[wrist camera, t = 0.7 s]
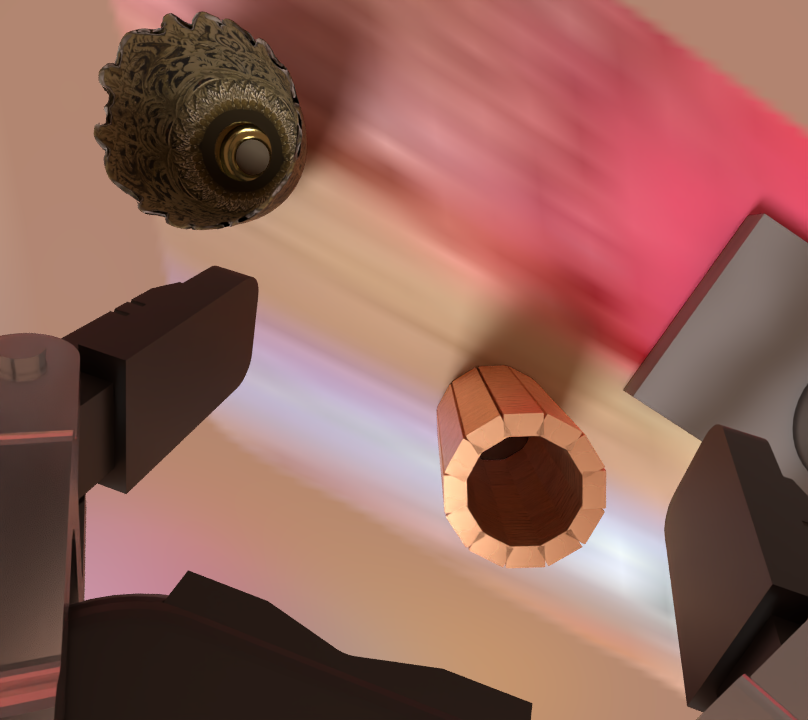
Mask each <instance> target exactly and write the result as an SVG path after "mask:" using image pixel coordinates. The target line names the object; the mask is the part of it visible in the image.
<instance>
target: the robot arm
mask: <svg viewBox="0 0 808 720" xmlns="http://www.w3.org/2000/svg"><path fill="white" fill-rule="evenodd" d="M257 302H258V283H257V280H256V279H255V278H254V277H251V276H247V275H244V274H241V273H238V272H235V271H231V270H228V269H225V268H222V267H219V266H212V267H210V268H208V269H206V270H205V271H203V272H201V273H200V274H198V275H196V276H194V277H193V278H191V279H189V280H187V281H186V282H184V283H181V282H178V283H174V284H169V285H165V286H160V287H156V288H152V289H150V290H148V291H146V292H144V293H143V294H141V295H139V296H137V297H135V298H134V299H132V301H131V303H130V302H126V303H124V304H123V305H121V306H119V307H117V308H116V309H115V311H114V312H111V311H110V312H108V313H107V314H105V315H103V316H101V317H99V318H97V319H96V320H94V321H92V322H90V323H88V324H87V325H85V326H83V327H81V328H79V329H77V330H76V331H74V332H72V333H70V334H69V335H67V336H65V337H63V338H57V337H54V336H50V335H44V334H36V333H18V334H8V335H2V336H0V720H531V710H532V703H530V702H527V701H525V700H522V699H520V698H517V697H515V696H512V695H509V694H507V693H504V692H502V691H499V690H496V689H494V688H491V687H489V686H486V685H483V684H481V683H478V682H476V681H473V680H471V679H468V678H465V677H463V676H460V675H458V674H455V673H452V672H450V671H447V670H445V669H440V668H434V667H426V666H419V665H413V664H405V663H398V662H391V661H384V660H377V659H369V658H363V657H356V656H351V655H348V654H345V653H342V652H341V651H339V650H337V649H336V648H334V647H333V646H332V645H330V644H329V643H327V642H326V641H324V640H323V639H321V638H320V637H319V636H317V635H316V634H314V633H313V632H311V631H310V630H309V629H307V628H306V627H304V626H303V625H301V624H300V623H298V622H297V621H296V620H294V619H293V618H291V617H290V616H288V615H287V614H286V613H284V612H283V611H281V610H280V609H278V608H277V607H275V606H274V605H273V604H271V603H269V602H268V601H266V600H263V599H260V598H258V597H255V596H253V595H250V594H248V593H245V592H243V591H240V590H237V589H235V588H232V587H230V586H227V585H225V584H222V583H219V582H217V581H214V580H212V579H209V578H206V577H204V576H201V575H198V574H196V573H193V572H191V571H187V573H186V574H185V575H184V577H183V578H182V579H181V580H180V582H179V583H178V584H177V586H176V587H175V588H174V589H173V591H172V592H171V593H170V595H162V594H126V595H112V596H106V597H100V598H95V599H90V600H86V601H84V592H85V546H86V545H85V543H86V493H87V492H88V491H89V490H90V489H91V488H92V487H94V485H96V484H97V483H98V484H101V485H103V486H106V487H108V488H111V489H114V490H117V491H120V492H122V493H125V494H127V493H128V492H129V491H130V490H131V489H132V488H133V487H134V486H135V485H136V484H137V483H138V482H139V481H140V480H141V479H143V478H144V477H145V476H146V475H147V474H148V473H149V472H150V471H151V470H152V469H153V468H154V467H155V466H156V465H157V464H158V463H159V462H160V461H161V460H162V459H163V458H164V457H165V456H166V455H168V454H169V453H170V452H171V451H172V450H173V449H174V448H175V447H176V446H177V445H178V444H179V443H180V442H181V441H182V440H183V439H184V438H185V437H186V436H187V435H189V433H191V432H192V431H193V430H194V429H195V428H196V427H197V426H198V425H199V424H200V423H201V422H202V421H203V420H204V419H205V418H206V417H207V416H208V415H209V414H210V413H212V412H213V411H214V410H215V409H216V408H217V407H218V406H219V405H220V404H221V403H222V402H223V401H224V400H225V399H226V398H227V397H228V396H229V395H230V394H231V393H232V392H233V391H234V390H236V389H237V388H238V386H239V385H240V384H241V382H242V381H243V379H244V377H245V375H246V373H247V371H248V368H249V365H250V361H251V357H252V348H253V339H254V330H255V320H256V311H257ZM664 532H665V541H666V549H667V556H668V564H669V572H670V579H671V587H672V594H673V602H674V610H675V617H676V625H677V632H678V640H679V647H680V655H681V663H682V670H683V678H684V685H685V693H686V701H687V706H688V707H690V708H693V709H696V710H699V711H701V712H703V713H702V714H701V715H700V716H699V717H698V718H697V719H696V720H808V495H807V494H806V493H805V492H804V491H803V490H802V489H801V488H800V487H799V486H798V485H797V484H796V483H795V481H794V480H793V479H790V478H787V477H784V476H783V475H782V472H781V470H780V468H779V465H778V463H777V460H776V458H775V456H774V453H773V451H772V449H771V446H770V444H769V442H768V441H767V440H766V439H764V438H761V437H758V436H755V435H752V434H748V433H745V432H742V431H739V430H736V429H732V428H729V427H726V426H723V425H720V424H716V425H714V426H713V427H712V428H711V429H710V430H709V431H708V433H707V434H706V436H705V437H704V439H703V441H702V443H701V445H700V447H699V449H698V450H697V452H696V454H695V456H694V458H693V460H692V462H691V463H690V465H689V467H688V469H687V471H686V473H685V475H684V476H683V478H682V480H681V482H680V484H679V486H678V488H677V489H676V491H675V493H674V495H673V497H672V499H671V502H670V504H669V507H668V511H667V515H666V519H665V528H664Z"/></svg>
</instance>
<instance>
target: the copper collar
mask: <svg viewBox="0 0 808 720" xmlns="http://www.w3.org/2000/svg"><path fill="white" fill-rule="evenodd" d="M452 383H453V385H452V384H450V385H449V387H448V389H447V390H446V392H445V394H444V396H443V398H442V400H441V401H440V403H439V405H438V407H437V409H438V410H437V432H438V446H439V456H440V467H441V478H442V489H443V499H444V510H445V513H446V517H447V519H448V521H449V522H450V524H451V525H452V527H453V528H454V530H455V531H456V533H457V534H458V536H459V537H460V539H461V540H462V542H463V544H464V545H465V547H469V550H470V551H472V552H474V553H476V554H478V555H480V556H482V557H484V558H486V559H487V560H489V561H491V562H493V563H495V564H497V565H499V566H501V567H503V566H504V564H505V565H506V568H529V567H545V561H546V563H547V564H548V566H550V565H551V564H553V563H555V562H557V561H559V560H560V559H562V558H564V557H566V556H567V555H569V554H571V553H573V552H574V551H576V550H578V549H580V548H581V547H582V546H581V544H580V542H581V543H583V544H586V542H587V540H588V539H589V537H590V535H591V534H592V532H593V530H594V529H595V527H596V525H597V524H598V522H599V521H600V519H601V517H602V516H603V514H604V510H603V509H602V508H606V470H605V469H604V467H605V466H604V465H603V463H602V461H601V460H600V458H599V456H598V455H597V453H596V451H595V450H594V448H593V447H592V445H591V443H590V442H589V440H588V438H587V437H586V435H585V434H584V433H583V432H582V431H581V430H580V429H579V427H578V426H577V425H576V424H575V423H574V422H573V421H572V420H571V419H570V418H569V417H568V416H567V415H566V414H565V412H564V411H563V410H562V409H561V408H560V407H559V406H558V405H557V404H556V403H555V402H554V401H553V400H552V399H551V397H550V396H549V395H548V394H547V393H546V392H545V391H544V390H543V389H542V388H541V387H540V386H539V385H538V384H537V382H536V381H534V380H533V379H532V378H530V377H529V376H527V375H525V374H523V373H521V372H519V371H517V370H515V369H513V368H511V367H509V366H508V367H507V366H506V365H503V366H478V370H477V369H476V367H475V368H473V369H472V370H470V371H469V372H467V373H465V374H464V375H462V376H460V377H459V378H457V379H455V380H454V381H452ZM518 436H530V437H529V439H528V441H527V442H526V444H525V446H524V447H523V449H521V450H519V451H518V452H516V453H514V454H513V455H511V456H509V457H508V458H506V459H497V460H482V459H481V458H479V456H480V455H481V453H482V452H484V451H485V450H487V449H489V448H490V447H492V446H494V445H495V444H497V443H499V442H500V441H502V440H504V439H505V438H507V437H518Z"/></svg>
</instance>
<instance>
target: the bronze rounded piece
mask: <svg viewBox="0 0 808 720" xmlns="http://www.w3.org/2000/svg"><path fill="white" fill-rule="evenodd" d="M162 27H163V28H162ZM256 41H257V42H256ZM256 41H255V40H254V39H253V37H252V36H251V35H250V33H249V32H247V31H245V30H244V29H242V28H241V27H240V26H239V25H238V24H236V23H235V22H234V21H232V20H230V19H224V20H222V22H221V21H220V19H219V18H218V17H215V16H213V15H211V14H209V13H207V12H198V13H197V14H196V15H195V16H194V18H193V20H192V24H188V23H187V22H184V21H183V20H181V19H180V18H178V17H177V16H176V15H174V14H172V13H169V14H166V15H165V16H164V17H163V22H162V23H161V28H158V29H138V30H133V31H130V32H128V33H126V34H125V35H124V37H123V38H122V40H121V42H120V44H119V48H118V52H117V58H116V61H115V64H114V63H108V64H106V65H105V66H104V67H103V68H102V69H101V70H100V71H99V83H100V84H101V85H102V87H103V86H104V87H103V88H104V90H105V91H107V90H108V91H107V93H108V94H109V101H108V103H107V104H106V105H105V107H104V110H105V112H106V123H105V124H103V125H99V124H100V123H98V124H96V125H95V128H94V137H95V139H96V141H97V143H98V144H99V145H100V146H101V147H102V148H103V149H104V150H105V156H104V165H105V169H106V172H107V174H108V177H109V178H110V180H111V181H112V182H113V183H114V184H115V185H116V186H117V187H119V188H120V189H121V190H123V191H124V192H125V193H126V194H129V195H130V196H132V197H133V198H135V199H136V200H138V201H139V202H140V203H138V202H137V203H138V208H139V210H140V211H141V212H143V213H145V214H149V215H158V216H163V217H166V218H165V220H166V223H167V224H169V225H171V226H174V227H177V228H181V229H190V228H192V230H209V229H220V228H223V227H227V226H230V227H231V226H234V225H238V224H242V223H246V222H249V221H252V220H255V219H258V218H260V217H262V216H264V215H266V214H268V213H270V212H271V211H273V210H274V209H276V208H277V207H278V206H279V205H281V204H282V203H283V202H284V201H285V200H286V199H287V198H288V197H289V195H290V194H291V193H292V191H293V190H294V188H295V187H296V185H297V183H298V181H299V179H300V177H301V174H302V172H303V169H304V164H305V160H306V152H307V136H306V128H305V123H304V118H303V114H302V111H301V108H300V105H299V101H298V98H297V95H296V91H295V87H294V84H293V81H292V78H291V76H290V73H289V72H288V70H287V68H286V67H285V66H284V65H283V64H281V63H280V62H279V61H278V59H277V58H276V57H275V55H274V53H273V51H272V49H271V48H270V47H269V45H268V44H267V43H266V41H264V40H263V39H261V38H258V39H256ZM105 87H106V88H105ZM250 139H254V140H258V141H260V142H262V143H263V144H264V145H265V146H266V147H267V149H268V151H269V155H270V160H269V164H268V166H267V168H266V169H265V170H264V171H263V172H262V173H260V174H257V175H249V174H246V173H244V172H243V171H241V170H240V168H239V167H238V165H237V163H236V159H235V155H236V150H237V148H238V146H239V145H240V144H241V143H242V142H244V141H246V140H250Z"/></svg>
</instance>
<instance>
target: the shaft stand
mask: <svg viewBox="0 0 808 720" xmlns="http://www.w3.org/2000/svg"><path fill="white" fill-rule="evenodd" d="M624 391H625V392H627V393H628V394H630V395H631V396H633V397H634V398H636V399H638V400H639V401H641V402H642V403H644V404H645V405H647V406H648V407H650V408H651V409H653V410H654V411H656V412H658V413H659V414H661V415H662V416H664V417H665V418H667V419H668V420H670V421H671V422H673V423H674V424H676V425H678V426H679V427H681V428H682V429H684V430H685V431H687V432H688V433H690V434H691V435H693V436H694V437H696V438H698V439H699V440H701V441H703V439H704V437H705V436H706V434H707V433H708V431H709V430H710V429H711V428H712V427H713V426H714V425H716V424H720V425H723V426H726V427H729V428H732V429H736V430H739V431H742V432H745V433H748V434H752V435H755V436H758V437H761V438H764V439H766V440H767V441H768V442H769V444H770V446H771V449H772V451H773V453H774V456H775V458H776V460H777V463H778V465H779V468H780V470H781V472H782V475H783V476H784V477H787V478H790V479H793V480H794V481H795V483H796V484H797V485H798V486H799V487H800V488H801V489H802V490H803V491H804V492H805V493H806V494H807V495H808V243H807V242H806V241H804V240H803V239H801V238H800V237H798V236H797V235H795V234H794V233H792V232H791V231H789V230H788V229H787V228H785V227H784V226H782V225H781V224H779V223H778V222H776V221H775V220H773V219H772V218H770V217H769V216H767V215H766V214H757V215H750V216H747V218H746V219H745V220H744V222H743V223H742V225H741V226H740V227H739V229H738V230H737V232H736V233H735V234H734V236H733V237H732V239H731V240H730V241H729V243H728V244H727V246H726V247H725V248H724V250H723V251H722V253H721V254H720V255H719V257H718V258H717V260H716V261H715V262H714V264H713V265H712V267H711V268H710V269H709V271H708V272H707V274H706V275H705V276H704V278H703V279H702V281H701V282H700V283H699V285H698V286H697V288H696V289H695V290H694V292H693V293H692V295H691V296H690V297H689V299H688V300H687V302H686V303H685V304H684V306H683V307H682V309H681V310H680V311H679V313H678V314H677V316H676V317H675V318H674V320H673V321H672V323H671V324H670V325H669V327H668V328H667V330H666V331H665V332H664V334H663V335H662V337H661V338H660V339H659V341H658V342H657V344H656V345H655V346H654V348H653V349H652V351H651V352H650V353H649V355H648V356H647V358H646V359H645V360H644V362H643V363H642V365H641V366H640V367H639V369H638V370H637V372H636V373H635V374H634V376H633V377H632V379H631V380H630V381H629V383H628V384H627V386H626V387H625V388H624Z"/></svg>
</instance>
